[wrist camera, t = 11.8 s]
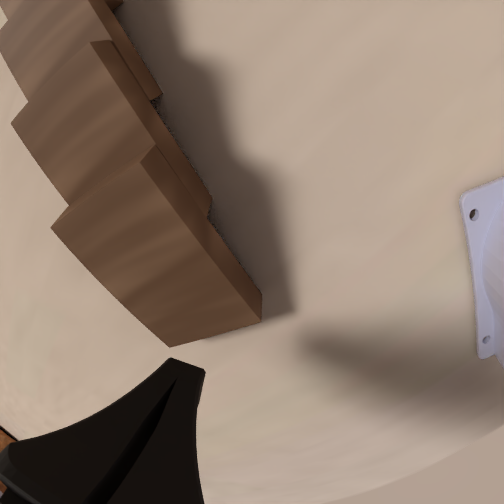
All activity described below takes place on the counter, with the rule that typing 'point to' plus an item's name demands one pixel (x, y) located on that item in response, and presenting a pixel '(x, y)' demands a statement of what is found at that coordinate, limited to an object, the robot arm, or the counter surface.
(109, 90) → the domino
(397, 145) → the counter surface
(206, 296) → the domino
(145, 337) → the counter surface
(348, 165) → the counter surface
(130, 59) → the domino
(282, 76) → the counter surface
